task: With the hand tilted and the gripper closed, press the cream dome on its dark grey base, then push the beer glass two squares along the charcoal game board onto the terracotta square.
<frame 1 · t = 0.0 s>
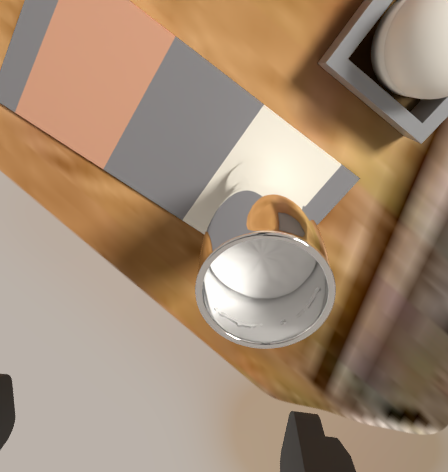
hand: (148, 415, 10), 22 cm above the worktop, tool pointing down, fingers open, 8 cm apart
dome base: (408, 45, 25), on the worktop
beer glass: (257, 193, 30), resting on game board
dome cap: (439, 41, 21), point 4 cm above the worktop, slide at 0.0 cm
game board: (180, 137, 28), on the worktop
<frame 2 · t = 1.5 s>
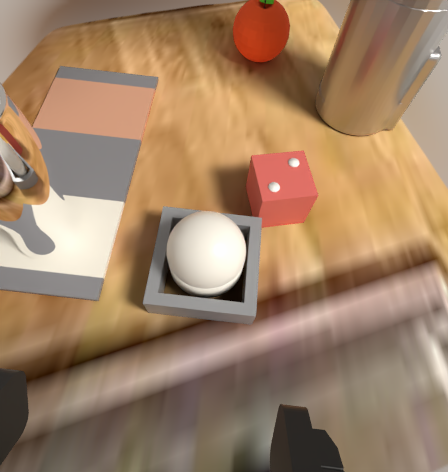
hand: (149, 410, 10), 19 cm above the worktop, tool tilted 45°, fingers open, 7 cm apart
dome base: (206, 270, 32), on the worktop
beer glass: (51, 231, 33), resting on game board
dome cap: (206, 250, 28), point 4 cm above the worktop, slide at 0.0 cm
die: (274, 204, 36), on the worktop
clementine: (258, 55, 46), on the worktop
game board: (76, 165, 36), on the worktop
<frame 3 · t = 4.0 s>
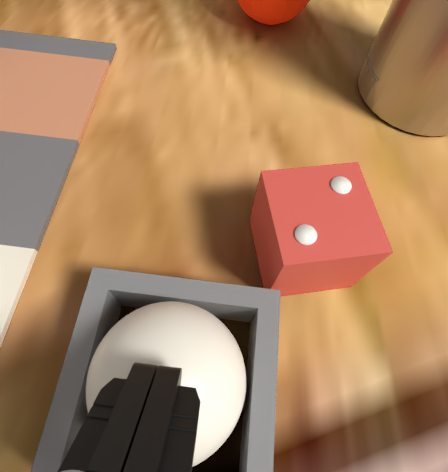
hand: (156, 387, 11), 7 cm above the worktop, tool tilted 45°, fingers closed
dome base: (174, 384, 17), on the worktop
dome cap: (168, 379, 14), point 3 cm above the worktop, slide at 1.3 cm, touching gripper
die: (298, 252, 21), on the worktop
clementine: (268, 16, 31), on the worktop
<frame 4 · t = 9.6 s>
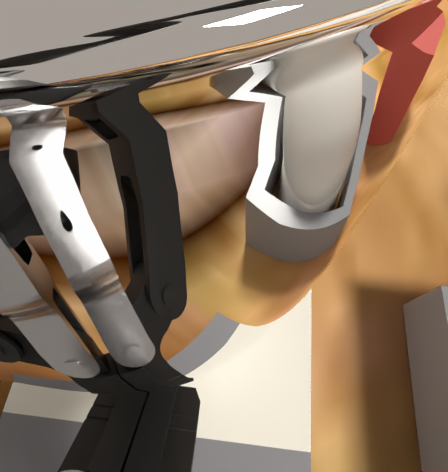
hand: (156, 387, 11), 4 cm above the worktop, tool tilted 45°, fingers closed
beer glass: (176, 318, 15), resting on game board, touching gripper
game board: (201, 182, 19), on the worktop
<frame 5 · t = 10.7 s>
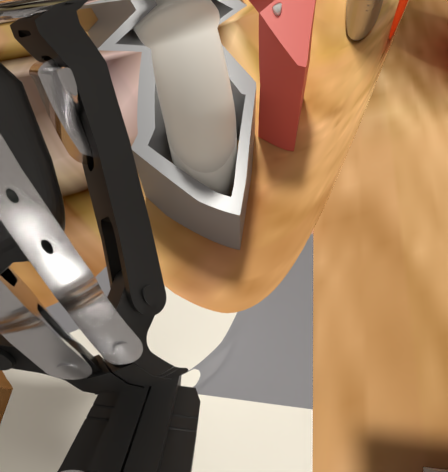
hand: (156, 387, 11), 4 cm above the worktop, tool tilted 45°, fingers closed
beer glass: (168, 321, 15), resting on game board, touching gripper
game board: (183, 297, 16), on the worktop
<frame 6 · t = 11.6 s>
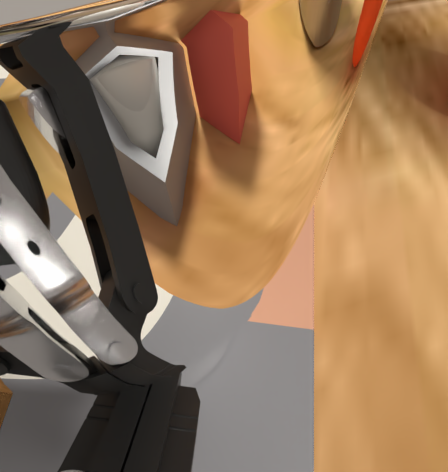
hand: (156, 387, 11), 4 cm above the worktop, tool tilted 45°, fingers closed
beer glass: (164, 320, 15), resting on game board, touching gripper
game board: (164, 411, 14), on the worktop
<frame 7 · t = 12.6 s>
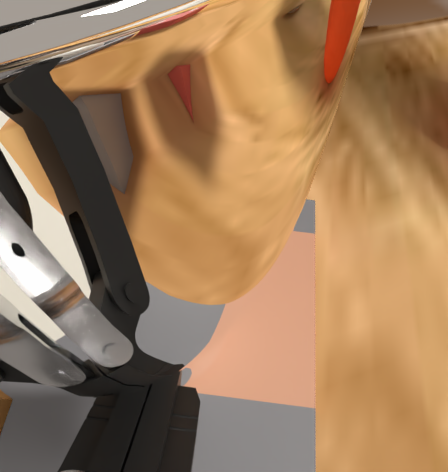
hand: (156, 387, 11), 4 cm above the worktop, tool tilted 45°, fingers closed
beer glass: (161, 319, 16), resting on game board, touching gripper
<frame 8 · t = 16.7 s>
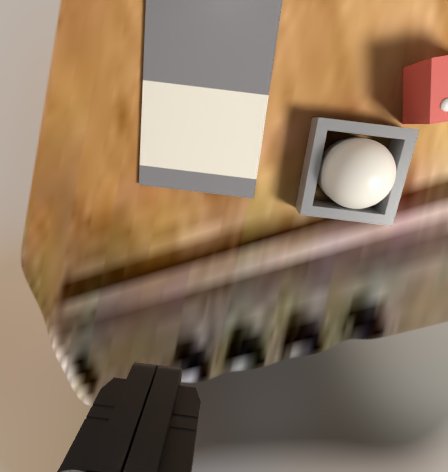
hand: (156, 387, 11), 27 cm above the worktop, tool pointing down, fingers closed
dome base: (347, 169, 35), on the worktop
dome cap: (357, 174, 32), point 3 cm above the worktop, slide at 1.3 cm
die: (430, 92, 32), on the worktop
game board: (210, 41, 32), on the worktop
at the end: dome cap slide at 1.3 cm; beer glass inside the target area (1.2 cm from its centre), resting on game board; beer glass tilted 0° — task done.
